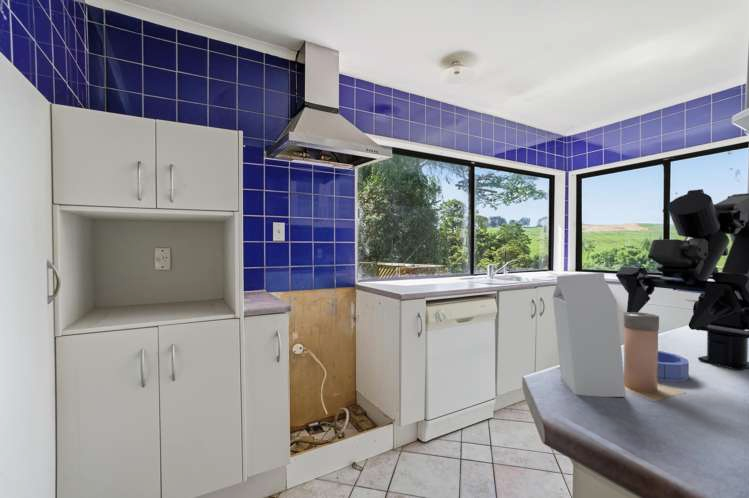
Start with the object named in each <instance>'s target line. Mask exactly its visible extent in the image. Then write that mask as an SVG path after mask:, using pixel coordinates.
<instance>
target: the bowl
mask: <svg viewBox="0 0 749 498" xmlns="http://www.w3.org/2000/svg"><path fill="white" fill-rule="evenodd" d="M689 364H690V363H689V360H688V358H685V357H684V356H680V355H679V354H675V353H671V352H669V351H668V352H667V351H664V350H658V381H663V382H674V383H677V382H685V381H688V379H689V378H690V377H689V375H690V374H689V371H690V370H689Z"/></svg>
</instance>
